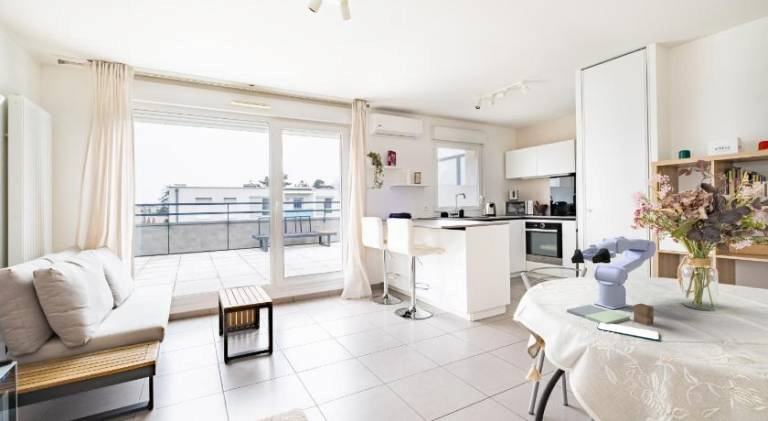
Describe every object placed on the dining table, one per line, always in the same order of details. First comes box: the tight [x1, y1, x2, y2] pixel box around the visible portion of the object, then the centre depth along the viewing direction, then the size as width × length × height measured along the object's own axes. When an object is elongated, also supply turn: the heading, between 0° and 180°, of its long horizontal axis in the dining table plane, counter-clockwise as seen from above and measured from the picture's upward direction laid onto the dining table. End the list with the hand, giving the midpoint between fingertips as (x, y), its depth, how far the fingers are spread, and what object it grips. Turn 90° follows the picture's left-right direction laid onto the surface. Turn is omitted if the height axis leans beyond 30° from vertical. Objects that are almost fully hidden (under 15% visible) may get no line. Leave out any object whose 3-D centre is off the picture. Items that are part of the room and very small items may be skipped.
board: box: [566, 304, 630, 324], centre depth 125 cm, size 13×15×1 cm
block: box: [633, 303, 655, 326], centre depth 118 cm, size 4×4×6 cm
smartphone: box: [597, 322, 660, 342], centre depth 110 cm, size 8×1×16 cm
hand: (582, 260), depth 125 cm, fingers open, 7 cm apart
